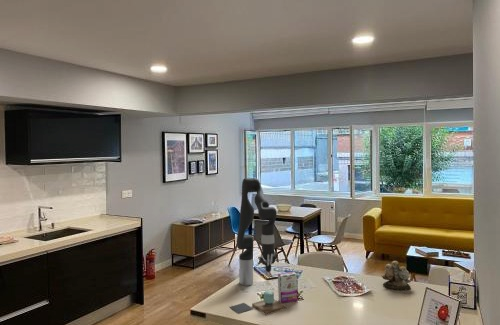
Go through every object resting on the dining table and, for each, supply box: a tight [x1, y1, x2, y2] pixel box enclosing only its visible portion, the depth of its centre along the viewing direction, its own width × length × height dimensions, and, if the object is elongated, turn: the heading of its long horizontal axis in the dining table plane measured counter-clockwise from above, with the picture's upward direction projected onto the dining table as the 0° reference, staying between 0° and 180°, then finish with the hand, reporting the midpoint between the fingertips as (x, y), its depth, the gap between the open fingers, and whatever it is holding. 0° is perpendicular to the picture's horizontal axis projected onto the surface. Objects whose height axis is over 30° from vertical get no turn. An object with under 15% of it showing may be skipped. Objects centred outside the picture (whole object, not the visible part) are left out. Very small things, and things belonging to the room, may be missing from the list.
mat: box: [229, 302, 254, 314], centre depth 216 cm, size 10×10×1 cm
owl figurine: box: [381, 260, 412, 291], centre depth 245 cm, size 18×12×17 cm, turn 79°
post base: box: [251, 299, 287, 315], centre depth 217 cm, size 14×14×8 cm
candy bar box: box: [277, 271, 299, 304], centre depth 226 cm, size 11×5×16 cm, turn 105°
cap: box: [263, 290, 275, 303], centre depth 217 cm, size 6×6×6 cm
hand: (268, 271), depth 216 cm, fingers closed
